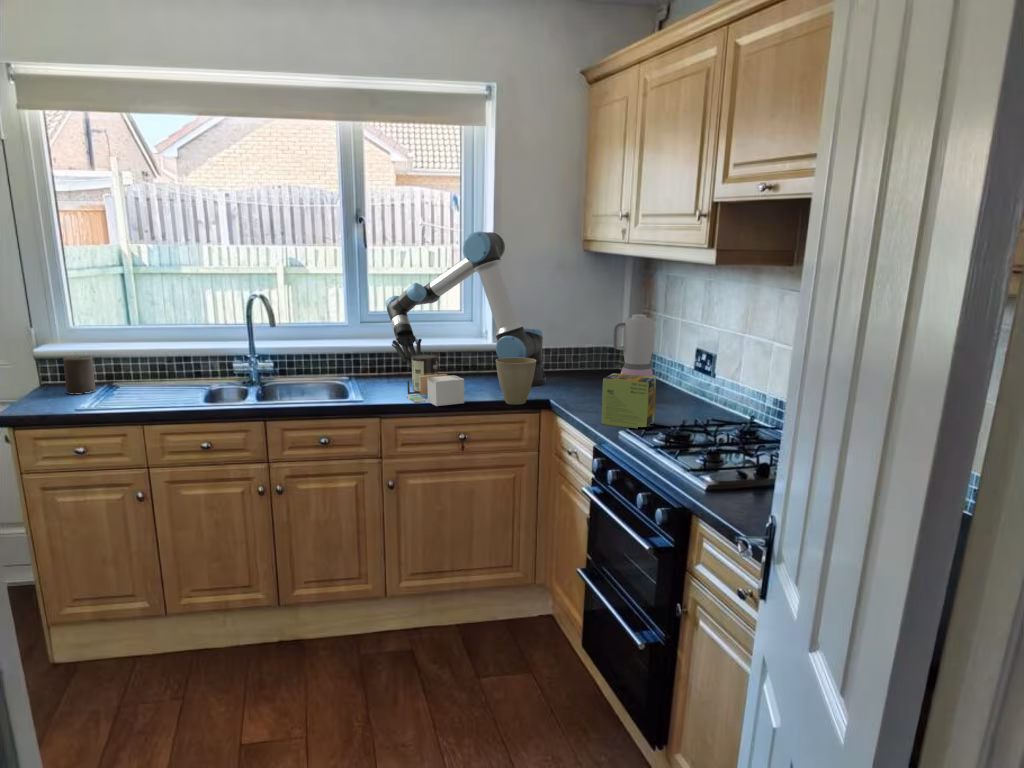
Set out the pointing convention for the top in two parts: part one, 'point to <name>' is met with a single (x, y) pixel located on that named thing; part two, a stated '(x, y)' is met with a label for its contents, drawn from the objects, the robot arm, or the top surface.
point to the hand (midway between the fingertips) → (416, 373)
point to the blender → (636, 344)
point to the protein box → (628, 400)
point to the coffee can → (423, 368)
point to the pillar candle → (79, 374)
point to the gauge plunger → (423, 384)
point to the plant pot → (515, 378)
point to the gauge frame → (443, 391)
